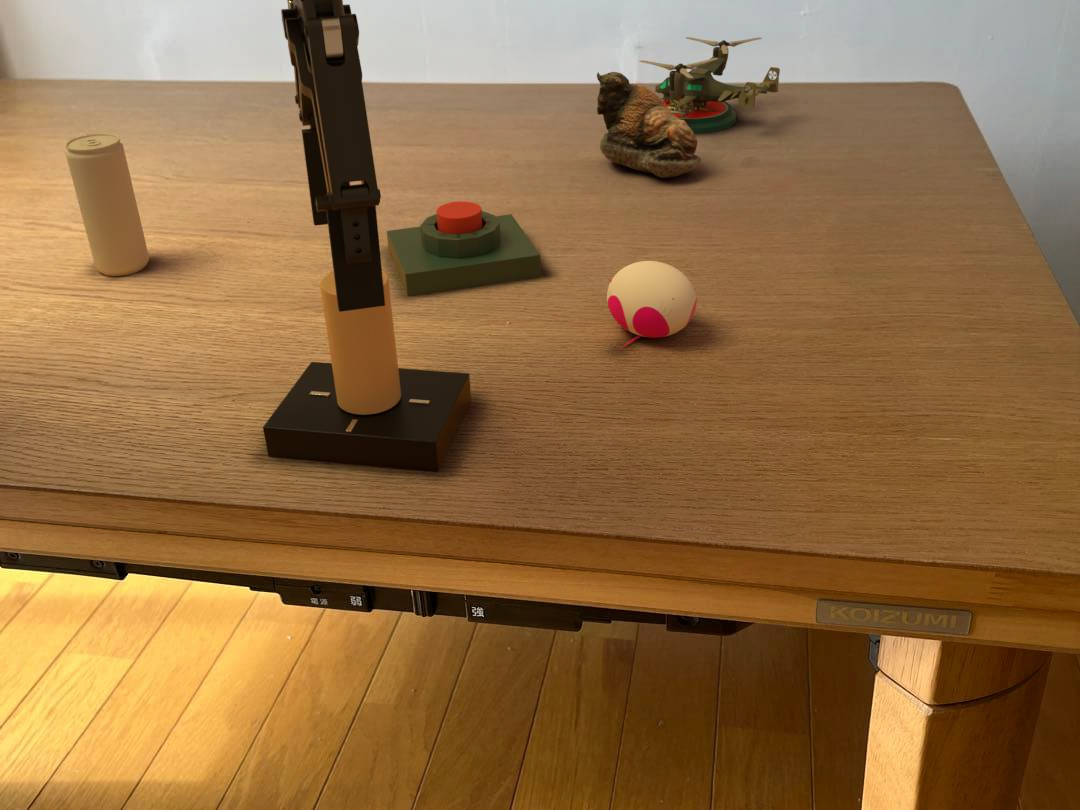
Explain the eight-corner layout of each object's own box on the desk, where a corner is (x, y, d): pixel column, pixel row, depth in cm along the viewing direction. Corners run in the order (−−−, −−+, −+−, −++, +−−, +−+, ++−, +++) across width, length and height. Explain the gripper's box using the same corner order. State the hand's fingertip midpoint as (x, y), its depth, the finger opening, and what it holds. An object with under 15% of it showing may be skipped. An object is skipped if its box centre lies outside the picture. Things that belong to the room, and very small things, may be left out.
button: (442, 239, 97) (441, 220, 96) (433, 222, 100) (432, 204, 100) (487, 233, 98) (486, 214, 97) (476, 216, 101) (475, 198, 100)
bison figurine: (709, 171, 120) (714, 77, 115) (678, 191, 115) (682, 94, 110) (613, 153, 126) (614, 63, 120) (580, 172, 121) (579, 79, 116)
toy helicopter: (683, 92, 145) (686, 26, 141) (795, 108, 138) (802, 39, 133) (608, 136, 131) (609, 64, 126) (729, 156, 124) (733, 81, 119)
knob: (390, 417, 74) (375, 292, 70) (328, 412, 75) (309, 288, 70) (409, 384, 78) (396, 263, 73) (349, 380, 79) (333, 260, 74)
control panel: (268, 457, 75) (261, 425, 74) (315, 390, 83) (310, 359, 81) (438, 473, 73) (435, 439, 72) (471, 402, 81) (469, 371, 79)
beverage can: (101, 282, 100) (68, 154, 94) (91, 264, 104) (59, 138, 97) (155, 270, 102) (126, 143, 96) (144, 252, 106) (115, 129, 99)
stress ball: (601, 361, 92) (568, 318, 87) (648, 284, 94) (619, 237, 88) (676, 388, 87) (646, 344, 82) (724, 306, 89) (698, 258, 84)
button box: (407, 297, 96) (403, 254, 94) (388, 252, 104) (384, 212, 102) (541, 277, 98) (539, 235, 96) (512, 235, 107) (510, 195, 104)
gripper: (224, -123, 69) (272, 198, 81) (248, -59, 49) (307, 360, 60) (344, -129, 71) (375, 187, 82) (416, -69, 51) (443, 340, 62)
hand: (346, 261), depth 71 cm, fingers open, 13 cm apart
